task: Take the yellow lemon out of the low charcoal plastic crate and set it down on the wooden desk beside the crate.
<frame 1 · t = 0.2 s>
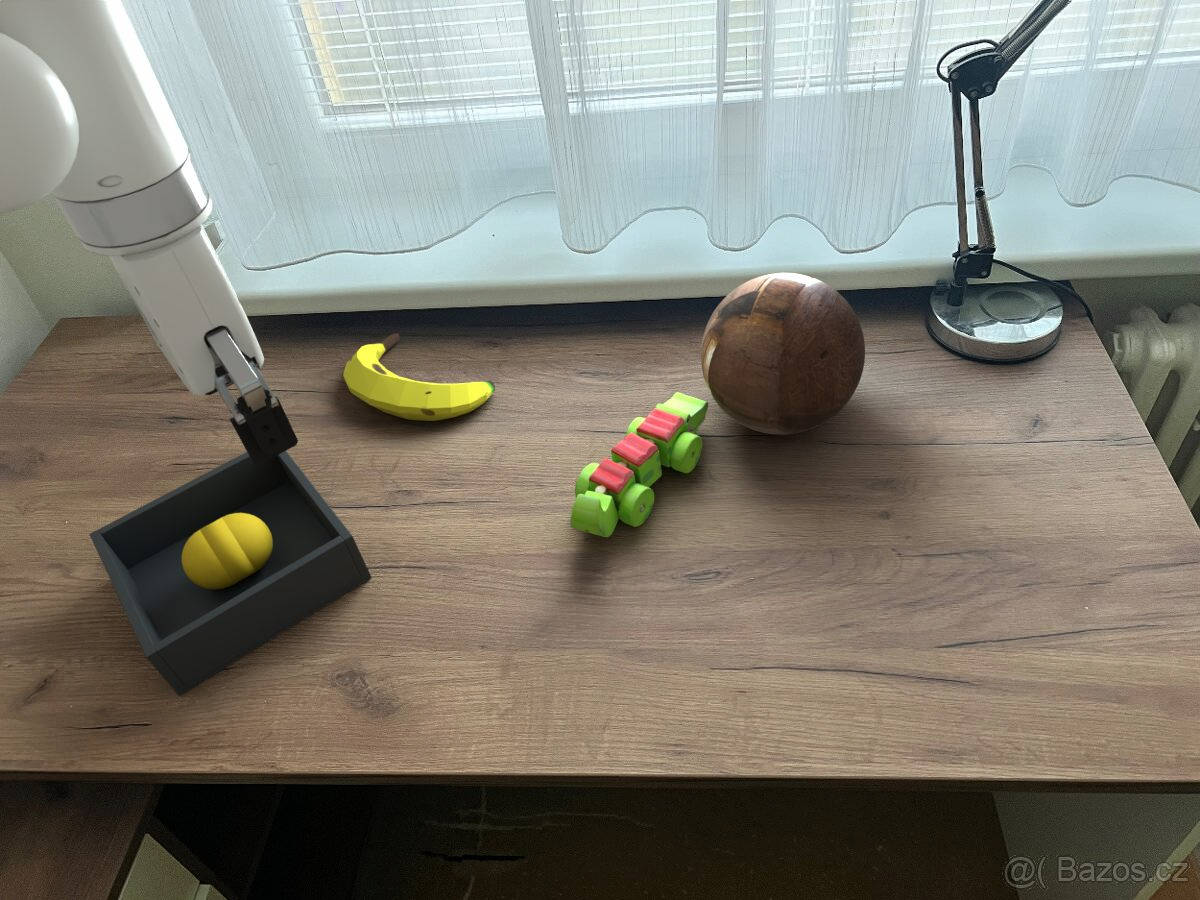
hand: (249, 417, 62), 21 cm above the table, tool pointing down, fingers open, 9 cm apart
lemon: (240, 570, 78), point 1 cm above the table, touching crate
toy crocodile: (642, 483, 82), on the table
banana: (425, 383, 96), on the table
crate: (243, 575, 79), on the table
wooden sphere: (777, 415, 87), on the table
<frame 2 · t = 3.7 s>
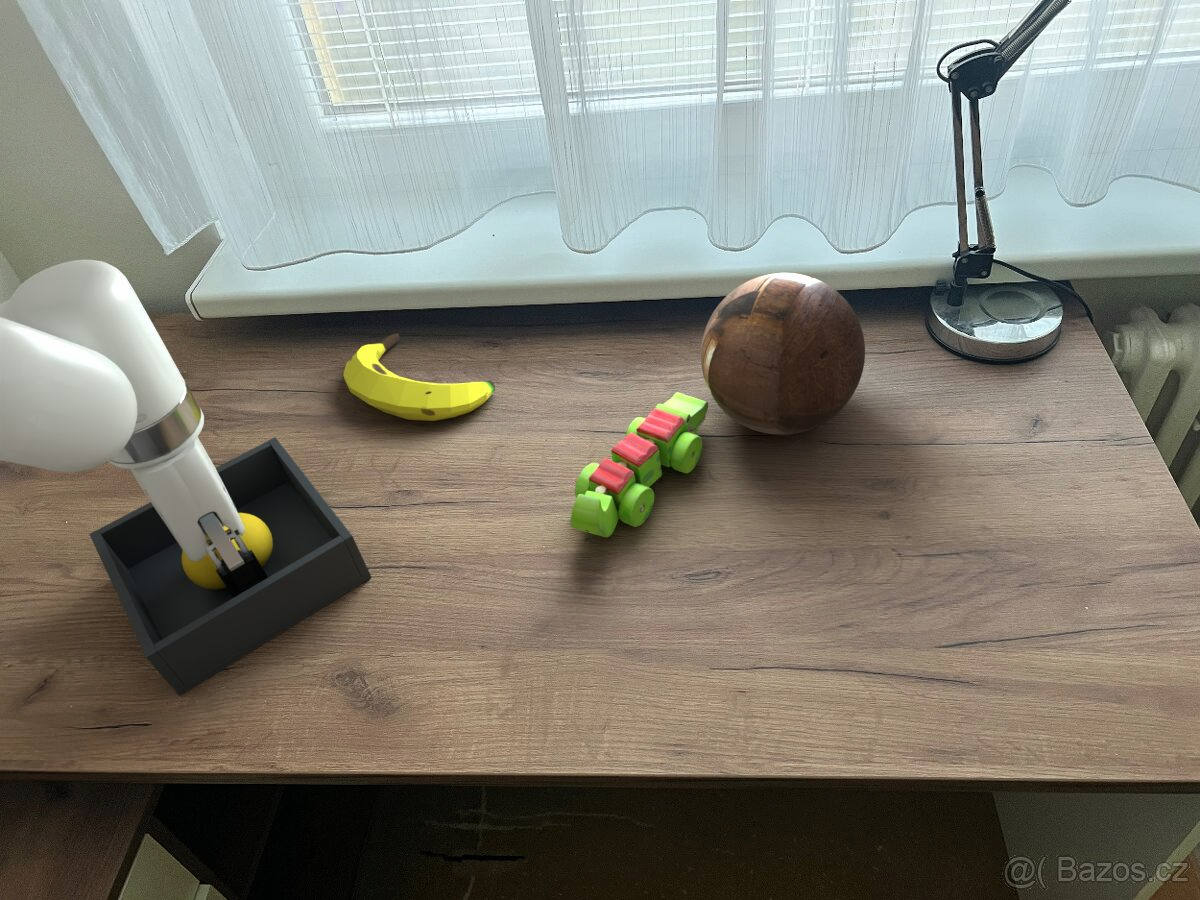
hand: (238, 566, 78), 1 cm above the table, tool pointing down, fingers closed on lemon, 5 cm apart
lemon: (240, 570, 78), point 1 cm above the table, touching crate, gripper
everything else where it was.
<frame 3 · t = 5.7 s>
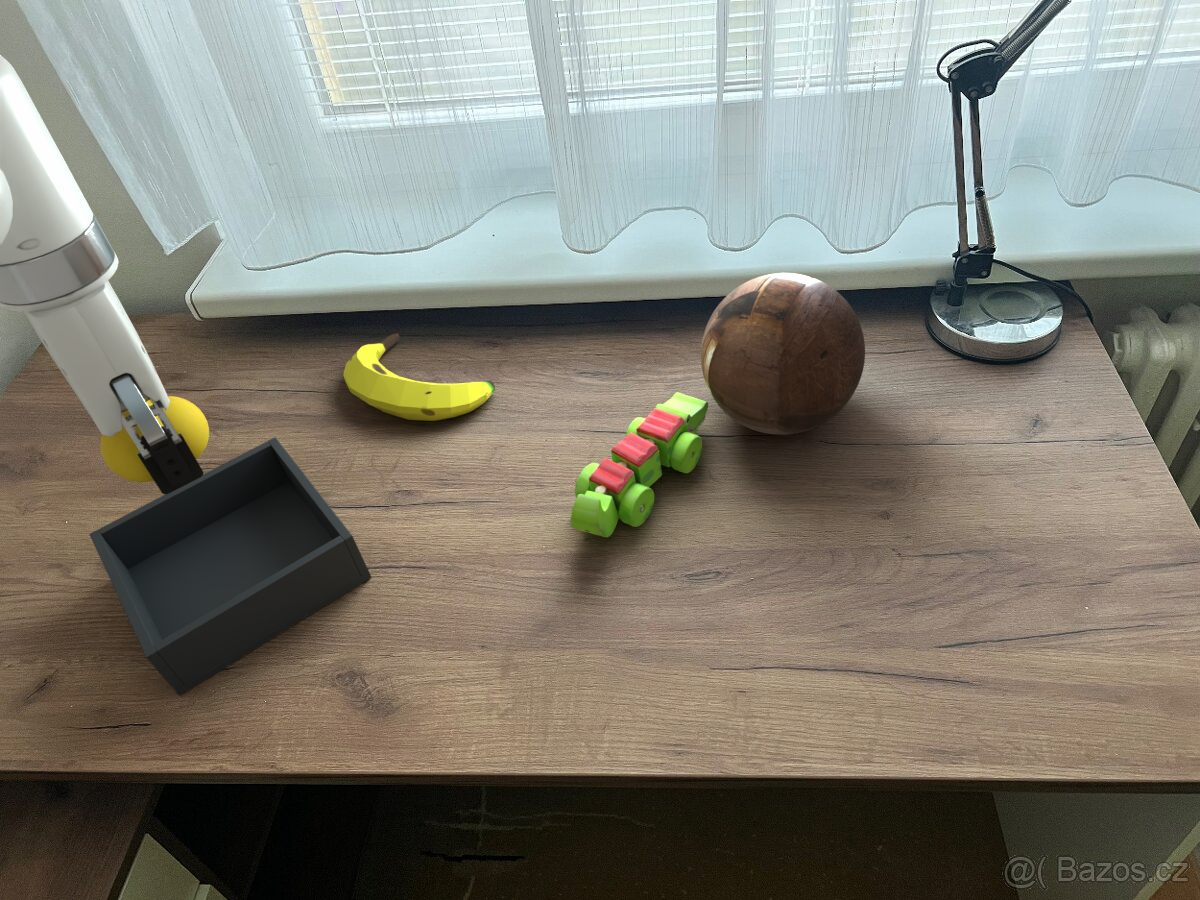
hand: (168, 460, 68), 15 cm above the table, tool pointing down, fingers closed on lemon, 5 cm apart
lemon: (172, 465, 68), point 15 cm above the table, touching gripper
everything else where it was.
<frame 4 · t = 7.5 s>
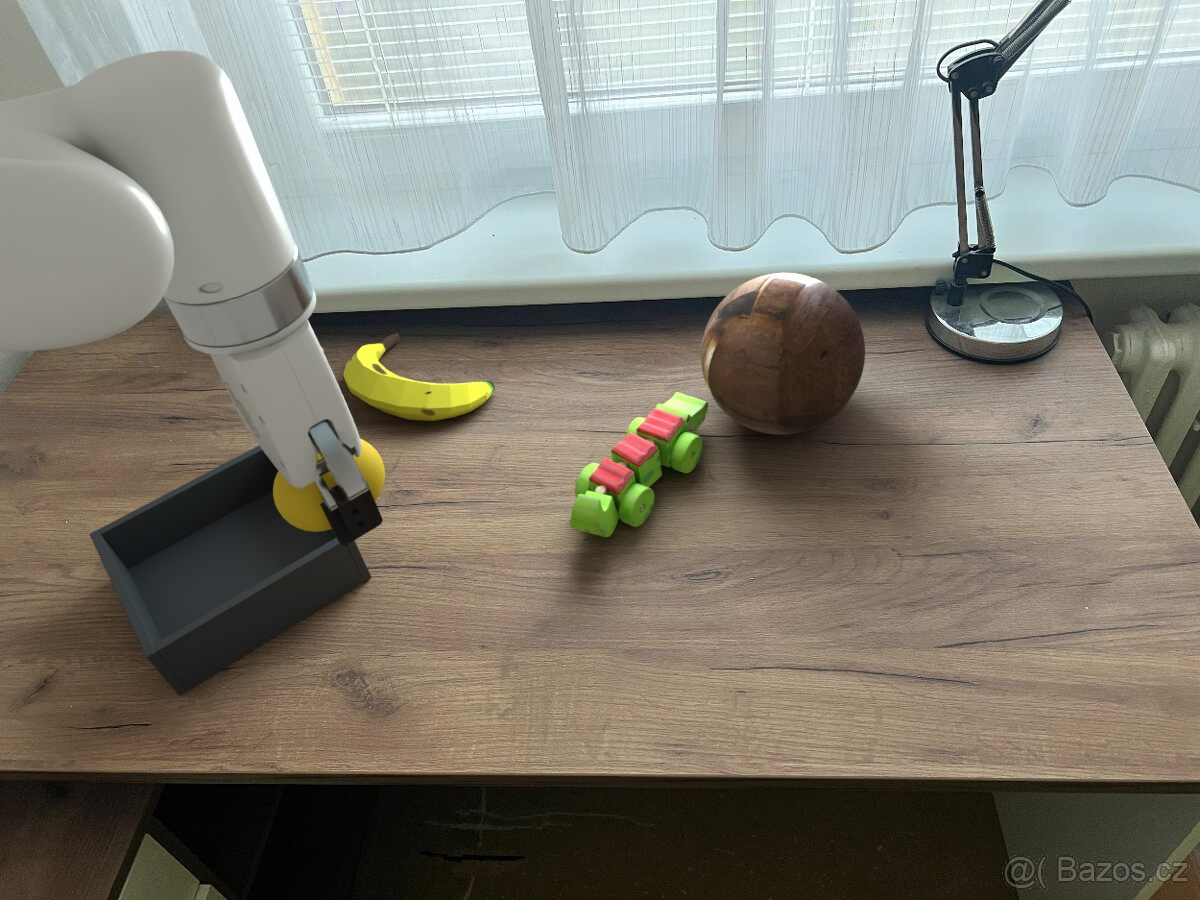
hand: (340, 505, 61), 16 cm above the table, tool pointing down, fingers closed on lemon, 5 cm apart
lemon: (342, 509, 62), point 16 cm above the table, touching gripper
everything else where it was.
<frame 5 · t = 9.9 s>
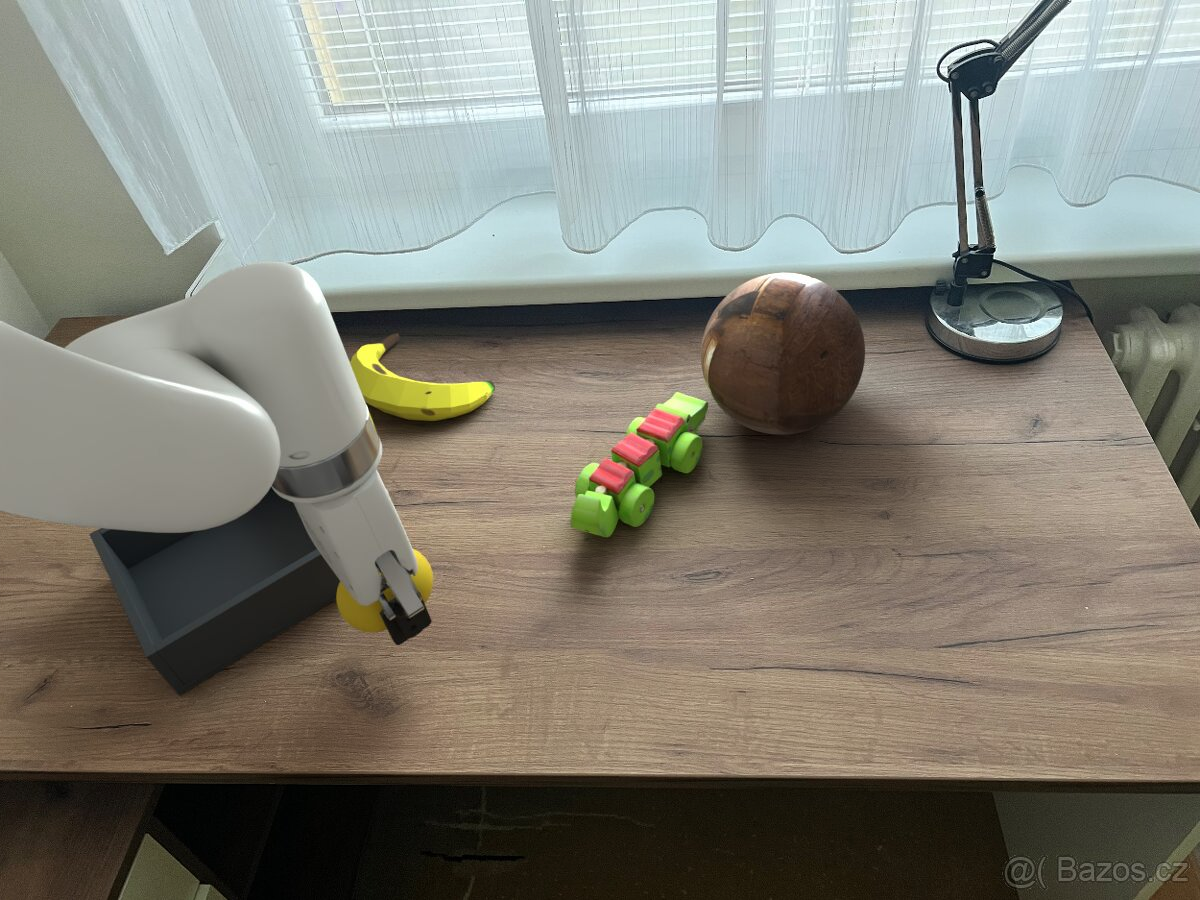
hand: (393, 605, 69), 4 cm above the table, tool pointing down, fingers closed on lemon, 5 cm apart
lemon: (395, 609, 70), point 4 cm above the table, touching gripper
everything else where it was.
when the fingers open (1 cm above the table, at t = 11.5 s): lemon stays where it is, on the table.
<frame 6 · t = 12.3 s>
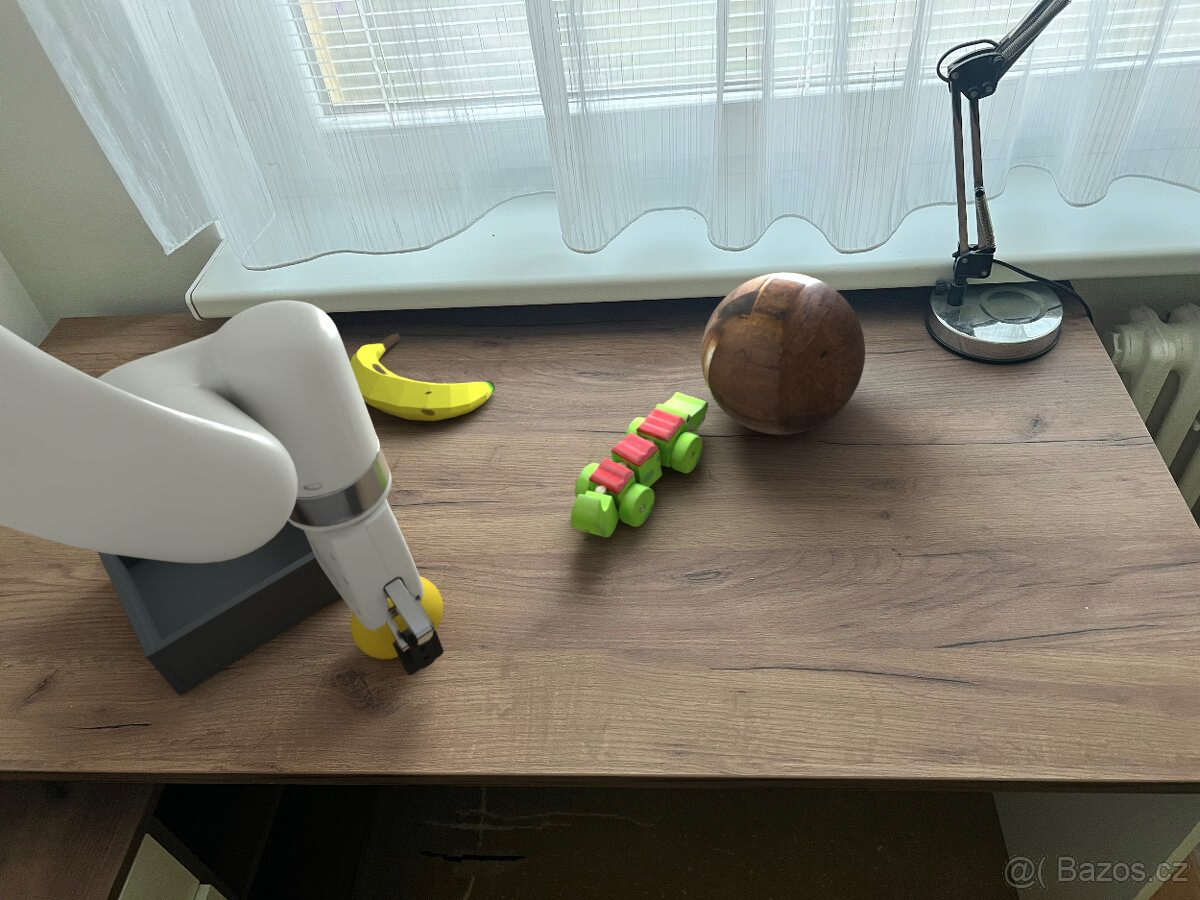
hand: (395, 623, 70), 3 cm above the table, tool pointing down, fingers open, 9 cm apart
lemon: (407, 637, 72), on the table
everything else where it was.
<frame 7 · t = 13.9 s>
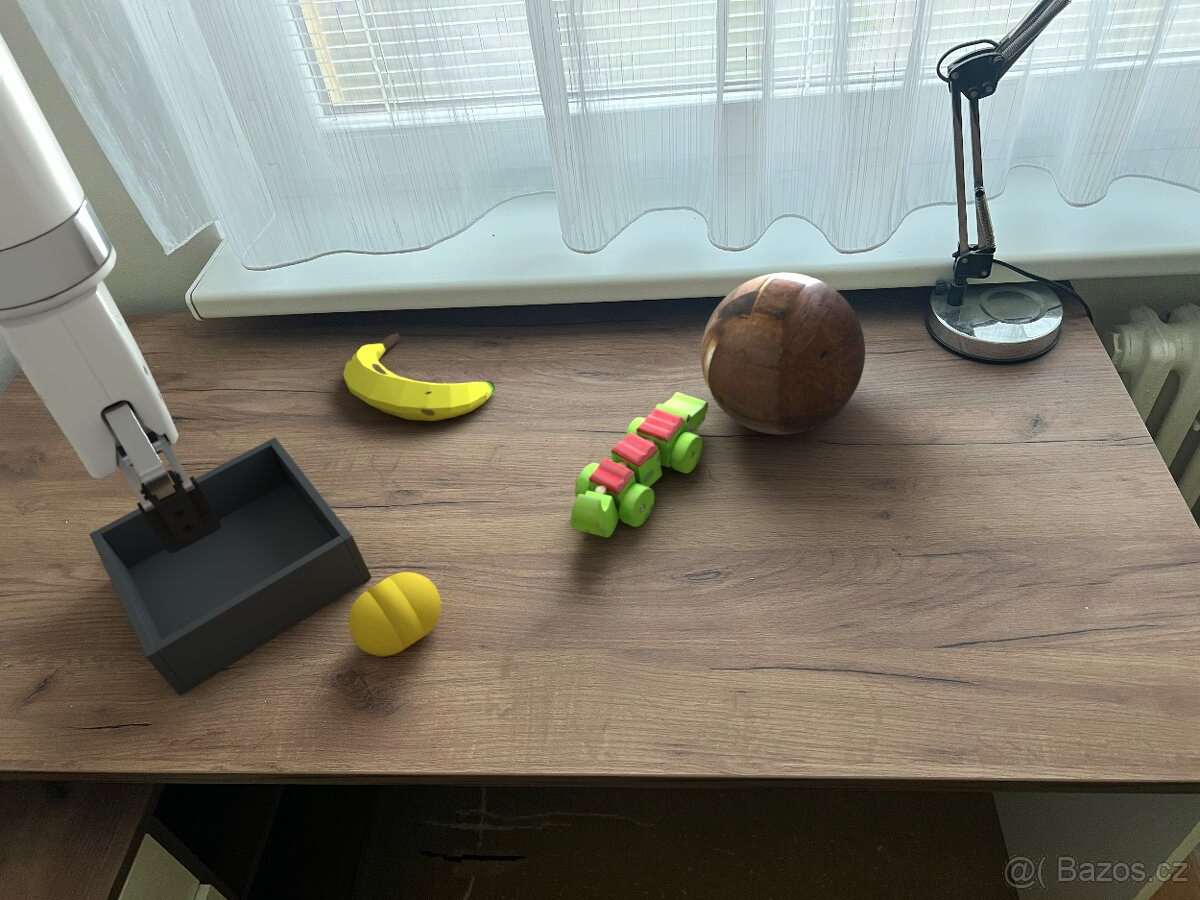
hand: (170, 493, 54), 23 cm above the table, tool pointing down, fingers open, 9 cm apart
lemon: (407, 636, 72), on the table, tilted 11°
everything else where it was.
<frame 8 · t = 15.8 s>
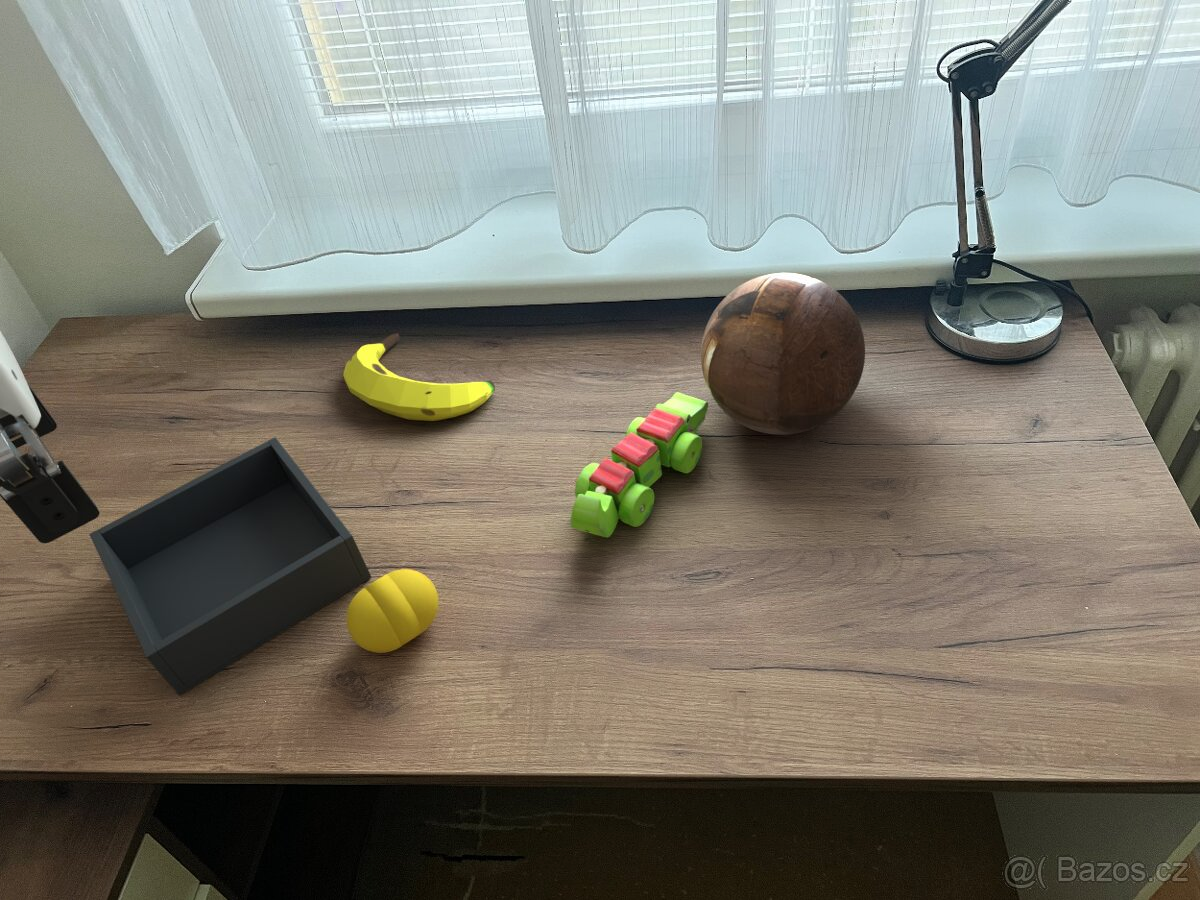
hand: (50, 480, 51), 26 cm above the table, tool pointing down, fingers open, 9 cm apart
lemon: (406, 635, 72), on the table, tilted 20°
everything else where it was.
at the end: lemon inside the target area (0.1 cm from its centre), on the table; lemon touching table; the gripper is holding nothing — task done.
